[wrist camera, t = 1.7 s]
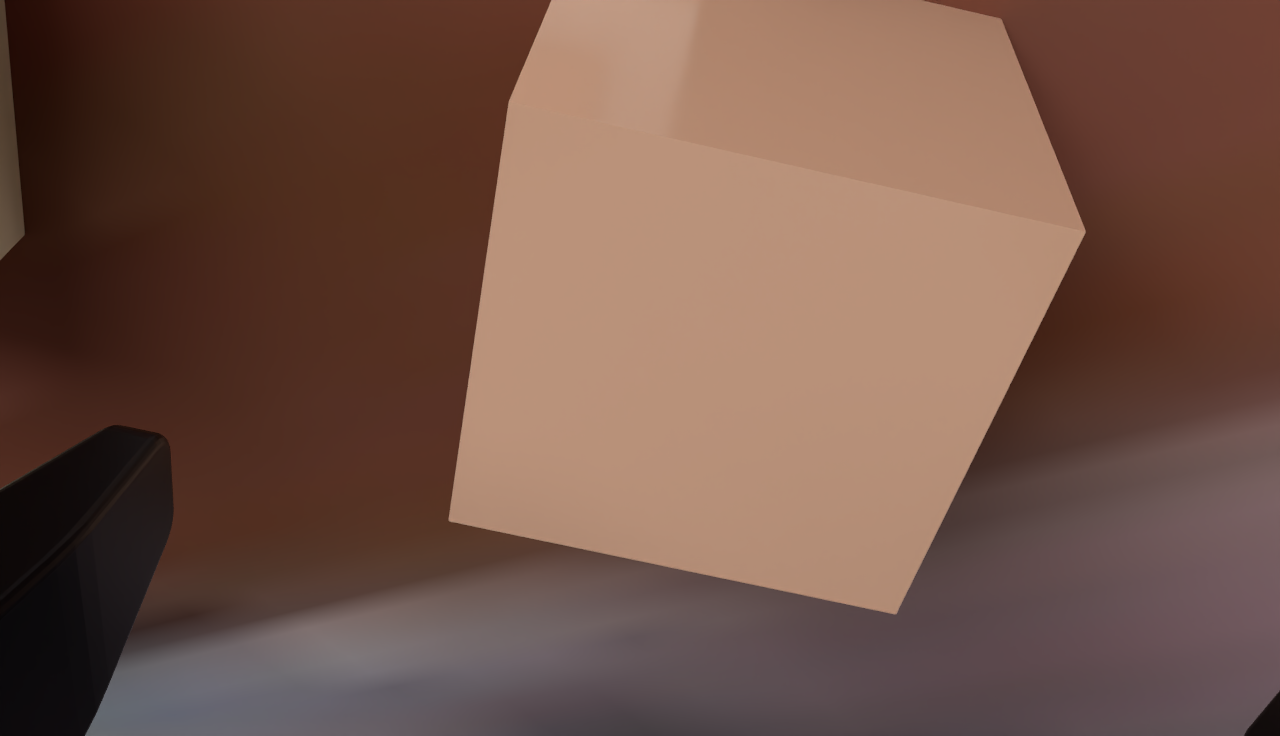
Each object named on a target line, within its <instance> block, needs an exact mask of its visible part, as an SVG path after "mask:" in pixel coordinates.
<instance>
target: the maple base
mask: <svg viewBox="0 0 1280 736" xmlns="http://www.w3.org/2000/svg"><path fill="white" fill-rule="evenodd" d="M24 235H25V230H24V218H23V207H22V195H21V184H20V172H19V161H18V150H17V138H16V127H15V115H14V104H13V92H12V81H11V69H10V58H9V46H8V35H7V24H6V12H5V1H4V0H0V260H1V259H2V258H3V257H4V256H5V255H6V254H7V253H8V252H9V251H10V249H11V248H12V247H13V246H14V245H15V244H16V243H17V242H18V241H19V240H20V239H21V238H22V237H23V236H24Z"/></svg>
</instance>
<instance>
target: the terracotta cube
mask: <svg viewBox="0 0 1280 736" xmlns="http://www.w3.org/2000/svg"><path fill="white" fill-rule="evenodd" d="M1085 233H1086V231H1085V228H1084V226H1083V223H1082V221H1081V218H1080V216H1079V213H1078V211H1077V208H1076V206H1075V203H1074V200H1073V198H1072V195H1071V193H1070V190H1069V188H1068V185H1067V183H1066V180H1065V178H1064V175H1063V173H1062V170H1061V168H1060V165H1059V163H1058V160H1057V158H1056V155H1055V153H1054V150H1053V148H1052V145H1051V143H1050V140H1049V138H1048V135H1047V133H1046V130H1045V128H1044V125H1043V123H1042V120H1041V118H1040V115H1039V113H1038V110H1037V107H1036V105H1035V102H1034V100H1033V97H1032V95H1031V92H1030V90H1029V87H1028V85H1027V82H1026V80H1025V77H1024V75H1023V72H1022V70H1021V67H1020V65H1019V62H1018V60H1017V57H1016V55H1015V52H1014V50H1013V47H1012V45H1011V42H1010V40H1009V37H1008V35H1007V32H1006V30H1005V27H1004V25H1003V22H1002V20H1001V19H1000V18H996V17H991V16H987V15H983V14H978V13H974V12H970V11H965V10H961V9H957V8H953V7H948V6H944V5H940V4H935V3H931V2H927V1H923V0H551V3H550V5H549V8H548V10H547V12H546V15H545V17H544V19H543V22H542V24H541V27H540V29H539V31H538V34H537V36H536V38H535V41H534V43H533V46H532V48H531V50H530V53H529V55H528V57H527V60H526V62H525V65H524V67H523V69H522V72H521V74H520V76H519V79H518V81H517V83H516V86H515V88H514V91H513V93H512V95H511V98H510V100H509V104H508V111H507V118H506V125H505V132H504V139H503V146H502V153H501V160H500V167H499V174H498V181H497V188H496V195H495V201H494V208H493V215H492V222H491V229H490V236H489V243H488V250H487V257H486V264H485V271H484V278H483V285H482V292H481V299H480V306H479V313H478V320H477V326H476V333H475V340H474V347H473V354H472V361H471V368H470V375H469V382H468V389H467V396H466V403H465V410H464V417H463V424H462V431H461V438H460V445H459V452H458V458H457V465H456V472H455V479H454V486H453V493H452V500H451V507H450V514H449V521H450V522H455V523H460V524H465V525H470V526H474V527H479V528H484V529H489V530H494V531H498V532H503V533H508V534H513V535H517V536H522V537H527V538H532V539H537V540H541V541H546V542H551V543H556V544H561V545H565V546H570V547H575V548H580V549H585V550H589V551H594V552H599V553H604V554H609V555H613V556H618V557H623V558H628V559H633V560H637V561H642V562H647V563H652V564H656V565H661V566H666V567H671V568H676V569H680V570H685V571H690V572H695V573H700V574H704V575H709V576H714V577H719V578H724V579H728V580H733V581H738V582H743V583H748V584H752V585H757V586H762V587H767V588H771V589H776V590H781V591H786V592H791V593H795V594H800V595H805V596H810V597H815V598H819V599H824V600H829V601H834V602H839V603H843V604H848V605H853V606H858V607H863V608H867V609H872V610H877V611H882V612H887V613H891V614H896V613H897V611H898V609H899V607H900V605H901V603H902V601H903V599H904V597H905V595H906V593H907V591H908V589H909V587H910V585H911V583H912V581H913V579H914V577H915V575H916V573H917V571H918V569H919V567H920V565H921V563H922V561H923V559H924V557H925V555H926V553H927V551H928V549H929V547H930V545H931V543H932V541H933V539H934V537H935V535H936V533H937V531H938V529H939V527H940V525H941V523H942V521H943V519H944V517H945V515H946V513H947V511H948V509H949V507H950V504H951V502H952V500H953V498H954V496H955V494H956V492H957V490H958V488H959V486H960V484H961V482H962V480H963V478H964V476H965V474H966V472H967V470H968V468H969V466H970V464H971V462H972V460H973V458H974V456H975V454H976V452H977V450H978V448H979V446H980V444H981V442H982V440H983V438H984V436H985V434H986V432H987V430H988V428H989V426H990V424H991V422H992V420H993V418H994V416H995V414H996V412H997V410H998V408H999V406H1000V404H1001V402H1002V400H1003V398H1004V396H1005V394H1006V392H1007V390H1008V388H1009V386H1010V384H1011V382H1012V380H1013V378H1014V376H1015V374H1016V372H1017V370H1018V368H1019V365H1020V363H1021V361H1022V359H1023V357H1024V355H1025V353H1026V351H1027V349H1028V347H1029V345H1030V343H1031V341H1032V339H1033V337H1034V335H1035V333H1036V331H1037V329H1038V327H1039V325H1040V323H1041V321H1042V319H1043V317H1044V315H1045V313H1046V311H1047V309H1048V307H1049V305H1050V303H1051V301H1052V299H1053V297H1054V295H1055V293H1056V291H1057V289H1058V287H1059V285H1060V283H1061V281H1062V279H1063V277H1064V275H1065V273H1066V271H1067V269H1068V267H1069V265H1070V263H1071V261H1072V259H1073V257H1074V255H1075V253H1076V251H1077V249H1078V247H1079V245H1080V243H1081V241H1082V239H1083V237H1084V235H1085Z"/></svg>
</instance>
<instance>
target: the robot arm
mask: <svg viewBox="0 0 1280 736" xmlns="http://www.w3.org/2000/svg"><path fill="white" fill-rule="evenodd" d="M173 510H174V507H173V489H172V471H171V452H170V446H169V443H168V441H167V439H166V438H165V437H164V436H163V435H161V434H159V433H155V432H150V431H145V430H141V429H136V428H131V427H126V426H121V425H113V426H110V427H107V428H104V429H102V430H100V431H99V432H97V433H95V434H94V435H92V436H90V437H88V438H87V439H85V440H83V441H81V442H80V443H78V444H76V445H75V446H73V447H71V448H69V449H68V450H66V451H64V452H63V453H61V454H59V455H57V456H56V457H54V458H52V459H51V460H49V461H47V462H45V463H44V464H42V465H40V466H39V467H37V468H35V469H33V470H32V471H30V472H28V473H26V474H25V475H23V476H21V477H20V478H18V479H16V480H14V481H13V482H11V483H9V484H8V485H6V486H4V487H2V488H1V489H0V736H85V734H86V732H87V730H88V729H89V727H90V725H91V723H92V721H93V719H94V717H95V715H96V713H97V711H98V708H99V706H100V704H101V701H102V699H103V697H104V694H105V692H106V690H107V688H108V685H109V683H110V680H111V678H112V675H113V673H114V670H115V668H116V666H117V663H118V661H119V658H120V656H121V653H122V651H123V648H124V646H125V643H126V641H127V639H128V636H129V634H130V631H131V629H132V626H133V624H134V621H135V619H136V616H137V614H138V611H139V609H140V607H141V604H142V602H143V599H144V597H145V594H146V592H147V589H148V587H149V584H150V582H151V579H152V577H153V575H154V572H155V570H156V567H157V565H158V562H159V560H160V557H161V555H162V552H163V550H164V548H165V545H166V543H167V540H168V537H169V534H170V530H171V526H172V521H173ZM1244 736H1280V691H1279V692H1278V694H1277V695H1276V696H1275V697H1274V698H1273V700H1272V701H1271V702H1270V703H1269V704H1268V706H1267V707H1266V708H1265V709H1264V710H1263V712H1262V713H1261V714H1260V715H1259V716H1258V717H1257V719H1256V720H1255V721H1254V722H1253V723H1252V725H1251V726H1250V727H1249V728H1248V730H1247V731H1246V733H1245V735H1244Z"/></svg>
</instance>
